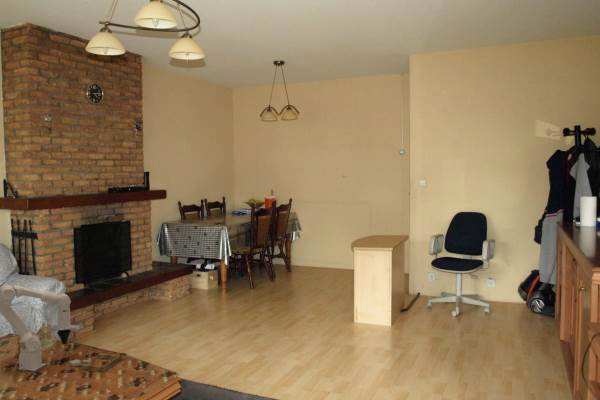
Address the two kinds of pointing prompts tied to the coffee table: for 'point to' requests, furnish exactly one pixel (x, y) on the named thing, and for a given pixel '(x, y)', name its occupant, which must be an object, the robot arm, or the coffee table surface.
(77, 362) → the lighter
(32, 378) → the coffee table surface
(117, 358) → the holder
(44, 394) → the coffee table surface
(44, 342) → the ceramic cottage
